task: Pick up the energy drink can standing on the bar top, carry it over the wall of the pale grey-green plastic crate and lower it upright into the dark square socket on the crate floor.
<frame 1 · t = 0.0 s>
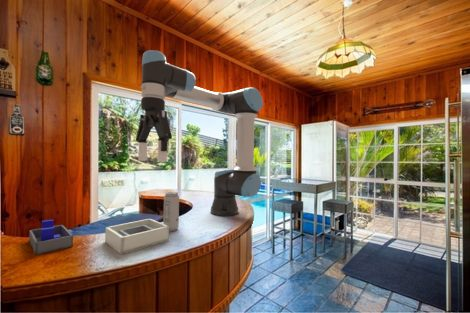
hand: (151, 161, 75), 28 cm above the table, fingers open, 13 cm apart
energy drink can: (170, 230, 90), on the table
cable clip: (50, 242, 73), resting on clip tray
crate: (137, 241, 77), on the table
clip tray: (50, 243, 73), on the table
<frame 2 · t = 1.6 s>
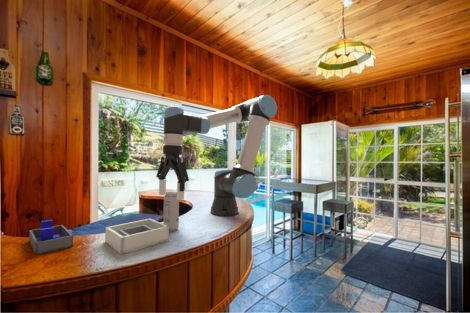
hand: (170, 197, 90), 13 cm above the table, fingers open, 13 cm apart
nothing on the table moved.
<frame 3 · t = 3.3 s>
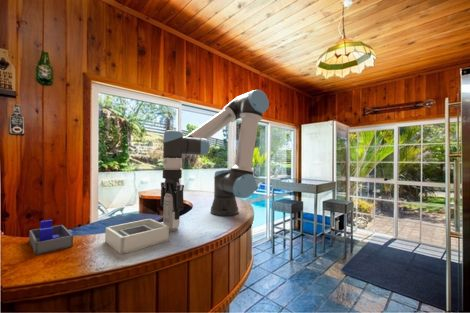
hand: (171, 225, 90), 2 cm above the table, fingers closed on energy drink can, 6 cm apart
energy drink can: (170, 229, 90), on the table, touching gripper
everything else where it was.
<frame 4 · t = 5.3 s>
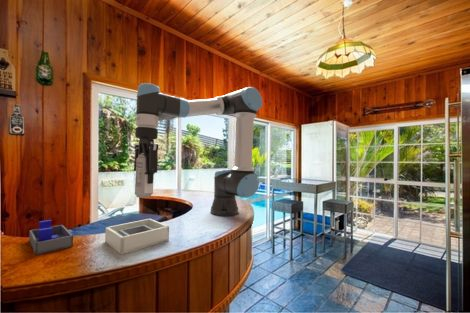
hand: (144, 191, 79), 17 cm above the table, fingers closed on energy drink can, 6 cm apart
energy drink can: (143, 196, 79), point 15 cm above the table, touching gripper
everything else where it was.
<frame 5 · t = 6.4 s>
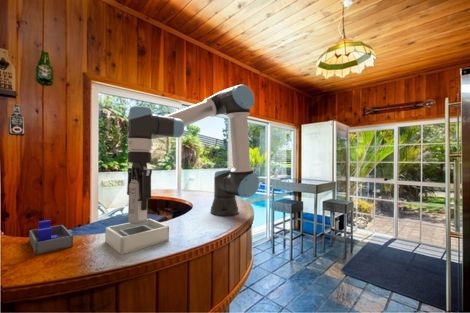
hand: (137, 217, 77), 8 cm above the table, fingers closed on energy drink can, 6 cm apart
energy drink can: (137, 222, 77), point 6 cm above the table, touching gripper
everything else where it was.
when the fingers open (5 cm above the table, at t = 7.4 s): energy drink can drops 2 cm, resting on crate.
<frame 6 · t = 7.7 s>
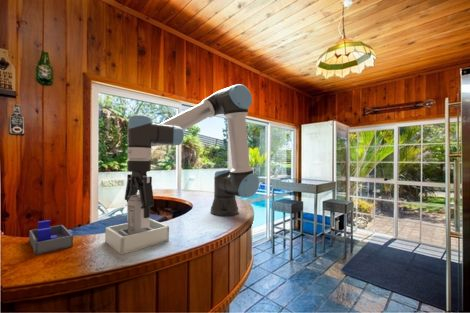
hand: (137, 223, 77), 6 cm above the table, fingers open, 10 cm apart
energy drink can: (137, 239, 77), point 1 cm above the table, touching crate
everything else where it was.
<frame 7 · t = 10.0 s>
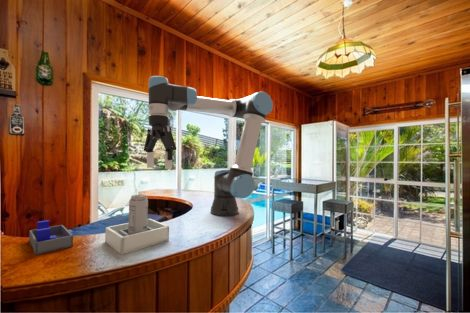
hand: (159, 168, 90), 25 cm above the table, fingers open, 13 cm apart
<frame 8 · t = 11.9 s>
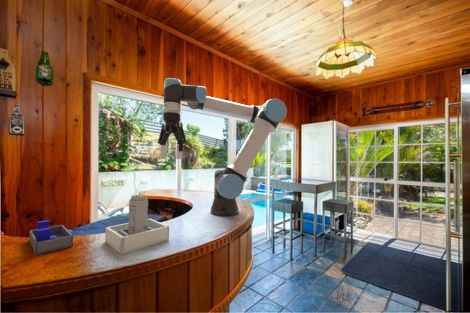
hand: (170, 158, 102), 29 cm above the table, fingers open, 13 cm apart
at the end: energy drink can 0.1 cm off-centre on the crate, point 0.6 cm above the crate's base; energy drink can tilted 0°; the gripper is holding nothing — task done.
